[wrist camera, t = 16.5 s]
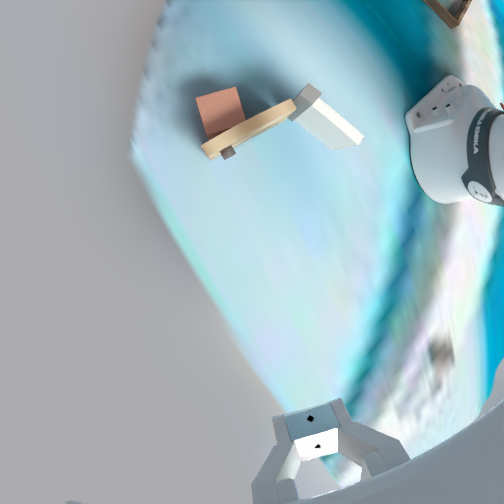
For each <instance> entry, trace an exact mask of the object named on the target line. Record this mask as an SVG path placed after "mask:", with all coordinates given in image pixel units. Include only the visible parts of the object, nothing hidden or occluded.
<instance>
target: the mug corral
mask: <svg viewBox="0 0 504 504" xmlns="http://www.w3.org/2000/svg"><path fill="white" fill-rule="evenodd" d="M422 1H424V2H425V3H426V4H427V5H428V6H429V7H430V8H431V9H432V10H433V11H434V12H435V13H436V14H437V15H438V16H439V17H440V18H441V19H442V20H443V21H444V22H445V23H446V24H447V25H448V26H449V27H450V28H451V29H452V28H454V27H456V26H458V25H459V24H460V22H461V20H462V18H463V17H464V15H465V13H466V11H467V9H468V7H469V5H470V3H471V1H472V0H464V2H463V3H462V5H461V7H460V9H459V10H458V12H457V14H456V15H455V17H453V16H452V15H451V14H450V13H449V12H448V11H447V10H446V9H445V8H444V7H443V6H442V5H441V4H440V3H439V2H438V1H437V0H422Z"/></svg>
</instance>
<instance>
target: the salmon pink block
mask: <svg viewBox="0 0 504 504" xmlns="http://www.w3.org/2000/svg"><path fill="white" fill-rule="evenodd" d="M196 102H197V105H198V108H199V112H200V115H201V119H202V122H203V125H204V129H205V132H206V135H207V137H208V139H209V140H211V139H213V138H214V137H216V136H218V135H220V134H222V133H223V132H225V131H227V130H229V129H231V128H233V127H234V126H236V125H238V124H240V123H242V122H244V121H246V118H245V115H244V111H243V108H242V105H241V102H240V99H239V96H238V92H237V89H236V87H233V88H229V89H225V90H221V91H218V92H214V93H210V94H207V95H204V96H200V97H197V98H196Z"/></svg>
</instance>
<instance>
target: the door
mask: <svg viewBox="0 0 504 504" xmlns="http://www.w3.org/2000/svg"><path fill="white" fill-rule="evenodd" d="M296 109H297V108H296V106H295V105H294V103H293V101H292V100H291V99H289V100H286V101H284V102H282V103H280V104H278V105H276V106H274V107H272V108H270V109H268V110H265V111H263V112H261V113H259V114H257V115H255V116H253V117H252V118H250V119H248V120H246V121H244V122H242V123H240V124H238V125H236V126H234V127H233V128H231V129H229V130H227V131H225V132H223V133H222V134H220V135H218V136H216V137H214V138H213V139H211V140H209V141H208V142H206V143H204V144H202V145H201V147H202V149H203V150H204V152H205V154H206V155H207V157H208V158H209V159H210V160H213V159H214V158H216V157H218V156H220V155H222V157H223V158H224V160H225V159H227V158H229V157H231V156H233V155H234V154H236V152H235V151H234V149H233V148H234V147H236V146H237V145H239V144H241V143H243V142H245V141H247V140H248V139H250V138H252V137H254V136H256V135H258V134H260V133H262V132H264V131H266V130H267V129H269V128H271V127H273V126H275V125H277V124H279V123H281V122H283V121H285V120H286V119H287V118H288V117H289V116H290V115H291V114H292V113H293V112H294V111H295V110H296Z"/></svg>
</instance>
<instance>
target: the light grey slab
mask: <svg viewBox="0 0 504 504" xmlns="http://www.w3.org/2000/svg"><path fill="white" fill-rule="evenodd" d="M321 94H322V93H321V92H320V91H318V90H317V89H316V88H314V87H313V86H312V85H310V84H309V83H308V84H307V85H306V87H305V88H304V89H303V90H302V91H301V92H300V93H299V94H298V95H297V97H296V98H295V99H294V100H293V103H294V105H295V106H296V108H297V109H296V110H295V111H294V112H293V113H292V114H291V115H290V116H289V117H288V119H290V120H291V121H293V120H294V121H295V122H296V123H298V124H299V125H300V126H301V127H303V128H304V129H305V130H307V131H308V132H309V133H310V134H312V135H313V136H314V137H315V138H317V139H318V140H319V141H320V142H322V143H323V144H324V145H325V146H326V147H328V148H329V149H330V150H331V151H333V150H338V149H342V148H347V147H352V146H356V145H359V143H360V142H361V141H362V139H363V138H364V136H363V135H362V134H361V133H360V132H359V131H357V130H356V129H355V128H354V127H353V126H352V125H351V124H350V123H348V122H347V121H346V120H345V119H344V118H343V117H341V116H340V115H339V114H338V113H337V112H335V111H334V110H333V109H332V108H331V107H329V106H328V105H327V104H326V103H324V102H323V101H322V100H321V99H319V98H318V97H319V96H320V95H321Z"/></svg>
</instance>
